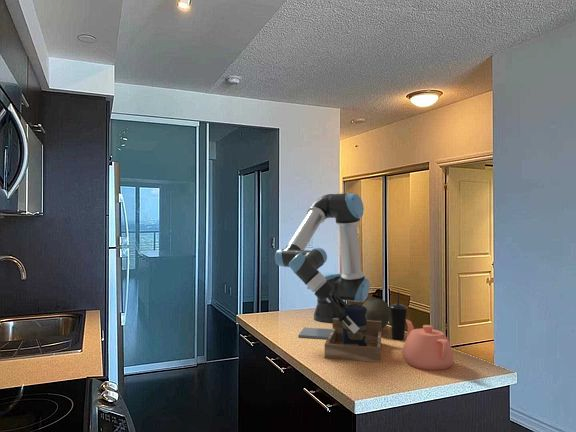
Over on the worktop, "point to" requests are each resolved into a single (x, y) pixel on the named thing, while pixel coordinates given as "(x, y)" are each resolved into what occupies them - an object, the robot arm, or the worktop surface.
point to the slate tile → (315, 333)
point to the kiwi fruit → (377, 311)
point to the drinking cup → (398, 320)
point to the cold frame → (350, 350)
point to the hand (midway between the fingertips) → (358, 327)
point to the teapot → (427, 348)
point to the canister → (360, 319)
